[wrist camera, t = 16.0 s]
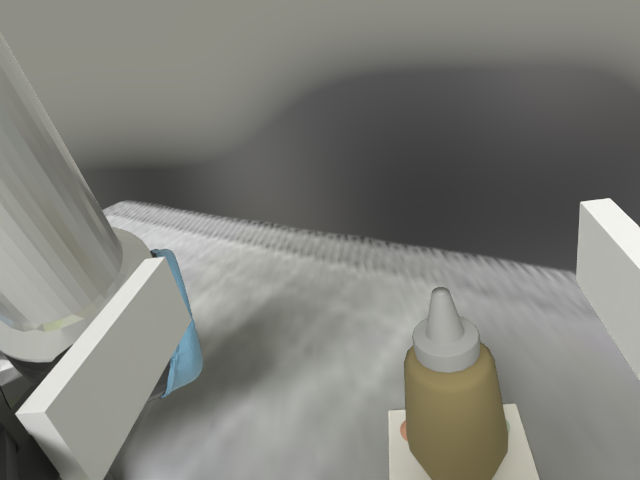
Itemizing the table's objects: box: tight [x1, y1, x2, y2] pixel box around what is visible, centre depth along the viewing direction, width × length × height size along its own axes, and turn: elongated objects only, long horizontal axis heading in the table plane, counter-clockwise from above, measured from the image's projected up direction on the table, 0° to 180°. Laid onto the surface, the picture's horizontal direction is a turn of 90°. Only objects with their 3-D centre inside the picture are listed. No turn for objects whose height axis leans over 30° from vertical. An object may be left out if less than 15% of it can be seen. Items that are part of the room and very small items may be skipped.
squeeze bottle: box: [404, 287, 508, 480], centre depth 36 cm, size 8×8×18 cm
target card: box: [388, 404, 540, 480], centre depth 40 cm, size 12×12×1 cm
